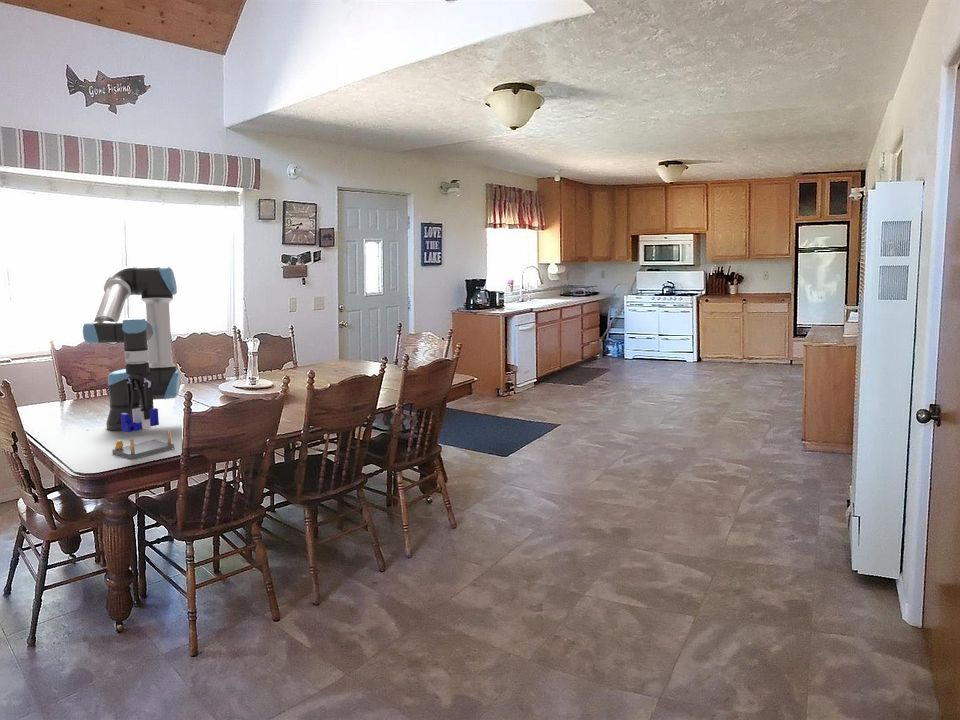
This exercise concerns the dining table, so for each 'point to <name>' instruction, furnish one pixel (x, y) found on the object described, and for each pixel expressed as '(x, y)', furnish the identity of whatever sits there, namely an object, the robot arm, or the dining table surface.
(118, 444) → the wire nut
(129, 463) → the dining table surface
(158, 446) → the junction plate
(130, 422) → the blue u-shaped block
